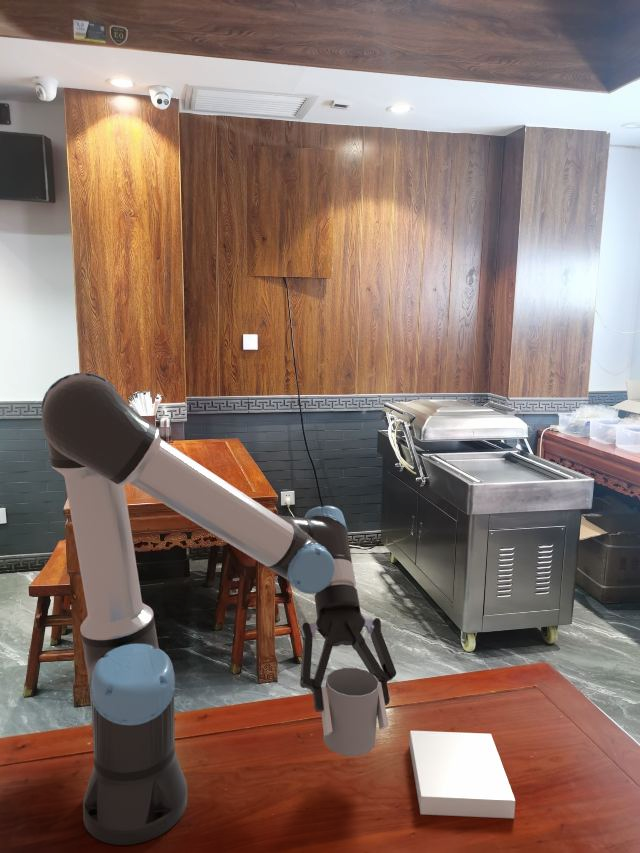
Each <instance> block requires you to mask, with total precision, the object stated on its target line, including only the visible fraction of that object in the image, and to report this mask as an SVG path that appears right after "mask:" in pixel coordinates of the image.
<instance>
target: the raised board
mask: <svg viewBox="0 0 640 853" xmlns="http://www.w3.org/2000/svg"><path fill="white" fill-rule="evenodd" d="M409 751H410V756H411V763H412V769H413V774H414V775H413V777H414V782H415V789H416V794H417V802H418V807H419V814H420V815H427V816H428V815H431V816H452V817H453V816H454V817H471V818H472V817H473V818H474V817H476V818H495V819H496V818H497V819H499V818H500V819H515V811H516V810H515V809H516V799H515V795H514V793H513V791H512V788H511V784H510V783H509V782H510V781H509V779H508V777H507V773H506V771H505V769H504V766H503V763H502V759H501V757H500V755H499V751H498V750H497V747H496V744H495V741H494V739H493V736H492V734H491V733H480V732H479V733H477V732H476V733H475V732H453V731H451V732H450V731H429V730H428V731H427V730H409Z"/></svg>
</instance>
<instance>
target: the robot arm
mask: <svg viewBox="0 0 640 853" xmlns="http://www.w3.org/2000/svg"><path fill="white" fill-rule="evenodd" d="M41 425H42V429H43V432H44V434H45V438H46V441H47V447H48V451H49V452H48V454H49V458H50V464H51V468H52V469H53V470H55V471H57V473H59V474H61V475H62V476H63V477H64V483H65V489H66V494H67V499H68V507H69V511H70V512H69V513H70V517H71V524H72V529H73V530H72V531H73V535H74V540H75V541H74V542H75V547H76V553H77V558H78V564H79V570H80V577H81V582H82V589H83V594H84V600H85V606H86V610H87V616H86V617H85V619H84V620H83V621H82V623H81V625H80V627H79V628H80V636H81V642H82V647H83V653H84V662H85V667H86V670H87V671H86V672H87V679H88V689H89V696H90V707H91V716H92V717H91V718H92V740H93V743H92V745H93V769H92V771H91V775H90V777H89V782H88V784H87V788H86V790H85V793H84V797H83V802H82V813H83V814H82V816H83V817H82V818H83V820H82V821H83V825H84V827H85V829H86V831H87V832H88V833H89V834H90V835H91V836H92V837H93V838H95V839H97V840H98V841H100V842H103V843H106V844H108V845H109V844H110V845H115V846H130V845H136V844H142V843H145V842H148V841H151V840H153V839H155V838H158V837H159V836H162V835H163V834H165V833H166V832H168V831H169V830H171V829H172V827H174V826H175V825H176V824H177V823H178V822H179V821H180V819H181V818H182V816H183V815H184V813H185V811H186V808H187V805H188V784H187V780H186V777H185V774H184V771H183V768H182V767H181V764H180V762H179V759H178V756H177V754H176V740H175V739H176V738H175V737H176V734H175V731H176V730H175V727H176V726H175V725H176V724H175V690H176V675H175V671H174V666H173V663H172V660H171V658H170V657H169V655H168V654H167V653H166V652H165V651H164V650H162V649H160V647H159V642H158V635H157V629H156V622H155V616H154V611H153V609H152V608H151V607H150V606H149V605H147V604H145V603H144V602H143V600H142V594H141V586H140V580H139V572H138V568H137V560H136V553H135V547H134V541H133V535H132V527H131V521H130V515H129V507H128V501H127V496H126V495H127V494H126V488H125V485H126V484H130V485H132V486H134V487H135V488H136V489H138V490H140V491H142V492H144V493H145V494H147V495H148V496H150V497H152V498H153V499H155V500H156V501H158V502H160V503H161V504H163V505H165V506H167V507H168V508H170V509H172V510H173V511H175V512H176V513H178V514H180V515H181V516H183V517H185V518H186V519H187V520H189V521H191V522H193V523H194V524H197V525H198V526H199V527H201V528H203V529H204V530H206V531H208V532H209V533H211V534H213V535H214V536H216V537H218V538H220V539H221V540H222V541H224V542H226V543H228V544H229V545H231V546H233V547H234V548H236V549H237V550H239V551H240V552H243V553H244V554H246V556H249V557H250V558H252V559H254V560H256V561H257V562H259V563H260V564H262V565H264V566H265V567H267V568H268V569H269V570H270V571H272V572H274V573H276V574H277V575H279V576H281V577H282V578H284V579H285V580H287V581H288V582H289V585H290V586H291V587H293V588H295V589H297V590H298V591H299V592H301V593H303V594H309V595H310V594H315V595H314V603H315V610H316V617H317V618H316V620H315V621H316V622H315V621H314V622H312V623H309V622H304V623H302V626H301V628H300V630H299V631H300V635H301V636H300V637H301V638H302V639H301V640H302V650H301V667H300V681H299V682H300V683H299V685H300V687H301V688H302V689H305V688H306V689H308V690H310V691H311V692H312V698H313V708H314V710H315V712H316V713H319V712H321V722H322V728H323V729H322V730H323V734H324V736H325V735H330V733H331V732H332V724H331V716H330V708H329V701H328V693H327V687H326V686H322V685H323V682H324V681H323V680H324V678H325V674H326V672H327V671H326V670H327V667H328V664H329V660H330V657H331V653H332V650H333V647H339V646H341V645H343V646H351V647H352V649H353V650H354V651H356V653H357V655H358V657H359V658H360V660H361V661H362V662H363V664H364V666H365V668H366V669H367V671H368V672H369V673H371V674H373V675H375V677H376V678H377V680H378V681H379V691H378V707H377V722H378V727H379V730H381V731H382V730H385V729H386V728H388V727H389V719H388V714H387V709H386V706H388V705H389V704H390V700H391V698H390V693H389V688H388V682H391V681H392V680H393V678H395V677H396V675H397V670H396V668H395V665H394V663H393V662H394V661H393V660H392V657H391V654H390V651H389V649H388V646H387V644H386V640H385V639H384V636H383V633H382V621H381V619H380V618H379V617H376V618H374V619H368V618H367V619H365V617H364V616H363V614H362V611H361V607H360V600H359V594H358V590H357V588H356V585H357V582H356V578H355V577H356V576H355V572H354V566H353V561H352V553H351V548H350V542H349V532H348V528H347V524H346V520H345V517H344V514H343V512H342V510H341V509H340V508H338V507H336V506H333V505H323V506H317V507H316V506H315V507H313V508H311V509H309V510H308V511H307V512H306V513H305V515H304V517H296V516H289V515H287V516H286V515H277V514H276V513H274V512H272V511H271V510H270V509H268V508H267V507H265V506H264V505H262V504H260V503H259V502H257V501H256V500H254V499H253V498H251V497H250V496H248V495H247V494H245V493H244V492H242V491H241V490H239V489H237V488H236V487H235V486H233V485H232V484H230V483H228V482H227V481H226V480H224V479H223V478H221V477H220V476H218V475H216V474H215V473H214V472H212V471H211V470H209V469H207V468H206V467H205V466H203V465H201V464H200V463H198V462H197V461H195V460H194V459H193V458H191V457H189V456H188V455H186V454H185V453H184V452H182V451H180V450H179V449H177V448H176V447H174V446H172V445H171V444H170V443H168V442H167V441H165V440H164V439H162V438H161V435H160V429H159V427H157V426H156V425H154V423H153V424H152V423H151V422H150V421H148V420H147V419H145V418H144V417H143V416H141V415H140V414H139V413H138V411H136V410H135V409H134V408H133V407H131V405H130V404H129V403H128V402H127V401H126V400H125V398H124V397H122V395H121V393H120V392H118V390H117V389H116V387H115V385H114V384H112V383H111V382H110V381H108V380H107V379H106V378H104V377H102V376H100V375H97V374H94V373H90V372H82V373H81V372H75V373H72V374H67V375H65V376H63V377H60V378H59V379H57V380H55V381H54V382H53V383H52V384H51V385H50V386H49V388H47V391H46V392H45V393H44V396H43V398H42V402H41ZM363 628H365V629H366V631H367V633H368V634H370V638H371V642H372V644H373V647H374V650H375V653H376V655H377V657H378V661H379V662H378V661H377V659H376V657H375V655H374V654H373V652H372V651H371V649H370V648H369V646H368V645H367V643H366V640H365V638H364V637H363V635H362V633H361V632H362V630H363ZM316 631H317V632H318V633H319V634H320V635H321V636H322V638H324V643H323V646H322V649H321V653H320V657H319V660H318V663H317V667H316V671H315V674H314V676H313V678H312V677H311V670H312V654H313V641H314V640H313V638H314V636H315V635H316Z"/></svg>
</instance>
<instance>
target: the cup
mask: <svg viewBox="0 0 640 853" xmlns="http://www.w3.org/2000/svg"><path fill="white" fill-rule="evenodd" d="M325 687H327V693H328V701H329V708H330V716H331V724H332V732H331V733H330V735H325V736H324V733H323V737H322V739H323V741H324V744H325V746H326V747H327V748H328V749H329V750H330V751H332V752H333V753H335V754H337V755H338V754H339V755H341V756H345V757H360V756H363V755H366V754H368V753H370V752H371V751H372V750H373V749H374V748H375V746H376V738H377V722H378V718H377V707H378V691H379V681H378V680H377V678H376V677H375V675H373V674H371V673H370V672H369V671H368V670H365V669H361V668H357V667H343V668H339V669H336V670H335V669H334V670H333V671H331V672H330V673H328V675H327V677H326V681H325Z"/></svg>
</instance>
